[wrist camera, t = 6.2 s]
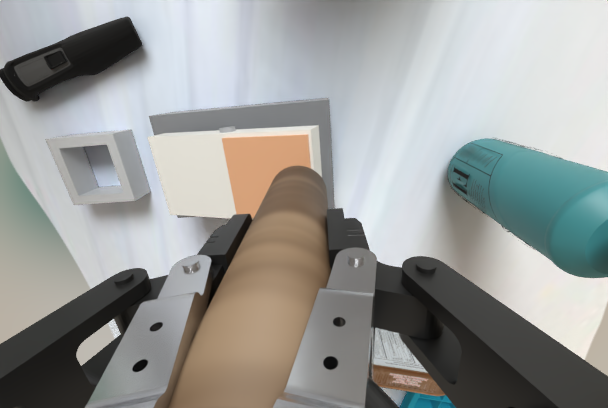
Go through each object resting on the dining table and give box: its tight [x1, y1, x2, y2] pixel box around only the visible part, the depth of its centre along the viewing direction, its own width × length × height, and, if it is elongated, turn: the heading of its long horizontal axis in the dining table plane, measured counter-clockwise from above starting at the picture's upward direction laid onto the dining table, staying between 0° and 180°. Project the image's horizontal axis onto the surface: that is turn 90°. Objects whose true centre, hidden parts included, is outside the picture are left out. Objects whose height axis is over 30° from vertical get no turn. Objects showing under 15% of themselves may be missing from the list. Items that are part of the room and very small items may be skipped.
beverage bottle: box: [448, 138, 608, 278], centre depth 21 cm, size 6×7×20 cm
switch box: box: [149, 98, 334, 218], centre depth 27 cm, size 10×16×7 cm, turn 95°
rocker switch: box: [148, 125, 322, 220], centre depth 23 cm, size 8×14×2 cm, turn 95°
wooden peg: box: [169, 166, 331, 408], centre depth 11 cm, size 4×4×14 cm
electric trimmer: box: [0, 17, 142, 101], centre depth 27 cm, size 4×16×3 cm, turn 108°
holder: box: [45, 130, 151, 205], centre depth 31 cm, size 7×7×3 cm
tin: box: [373, 328, 445, 396], centre depth 36 cm, size 15×3×8 cm, turn 81°
